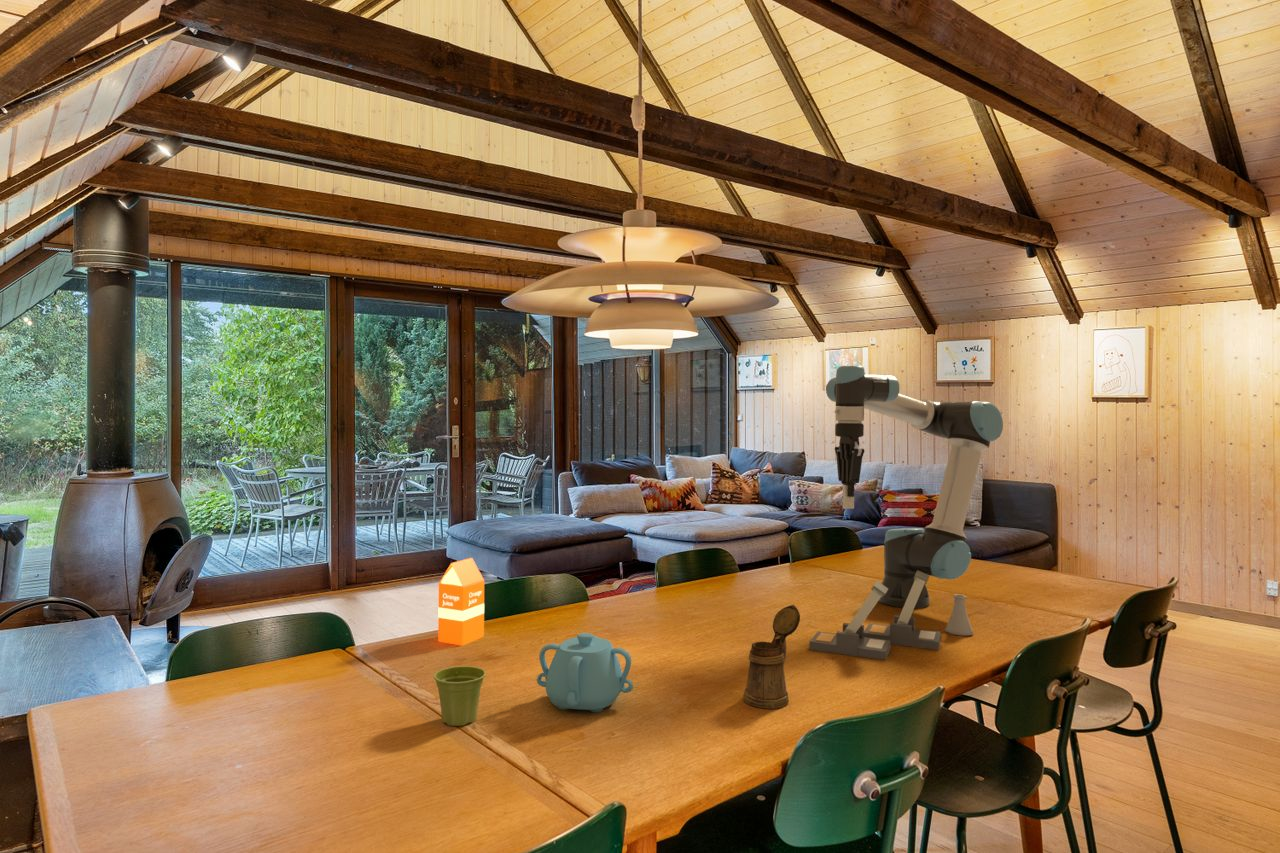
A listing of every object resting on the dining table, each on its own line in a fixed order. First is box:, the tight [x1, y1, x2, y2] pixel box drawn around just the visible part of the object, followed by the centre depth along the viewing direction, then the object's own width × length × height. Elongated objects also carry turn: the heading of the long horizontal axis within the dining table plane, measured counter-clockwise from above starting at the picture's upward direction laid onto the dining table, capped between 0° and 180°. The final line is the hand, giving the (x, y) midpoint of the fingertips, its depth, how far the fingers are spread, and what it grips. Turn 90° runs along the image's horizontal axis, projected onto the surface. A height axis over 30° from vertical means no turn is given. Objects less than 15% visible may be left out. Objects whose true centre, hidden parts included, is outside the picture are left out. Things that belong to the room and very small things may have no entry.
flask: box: [944, 593, 974, 636], centre depth 204 cm, size 7×7×10 cm
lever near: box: [844, 580, 888, 633], centre depth 187 cm, size 3×6×15 cm
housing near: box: [809, 622, 892, 661], centre depth 189 cm, size 18×10×5 cm, turn 65°
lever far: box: [897, 570, 930, 625], centre depth 196 cm, size 3×6×15 cm, turn 155°
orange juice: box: [437, 557, 485, 647], centre depth 193 cm, size 8×9×20 cm
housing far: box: [864, 614, 942, 651], centre depth 197 cm, size 18×10×5 cm, turn 65°
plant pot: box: [433, 665, 487, 727], centre depth 142 cm, size 9×9×9 cm
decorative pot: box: [536, 632, 634, 713], centre depth 151 cm, size 16×16×14 cm
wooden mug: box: [743, 604, 801, 710], centre depth 155 cm, size 9×14×18 cm, turn 132°
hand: (848, 508), depth 210 cm, fingers closed
